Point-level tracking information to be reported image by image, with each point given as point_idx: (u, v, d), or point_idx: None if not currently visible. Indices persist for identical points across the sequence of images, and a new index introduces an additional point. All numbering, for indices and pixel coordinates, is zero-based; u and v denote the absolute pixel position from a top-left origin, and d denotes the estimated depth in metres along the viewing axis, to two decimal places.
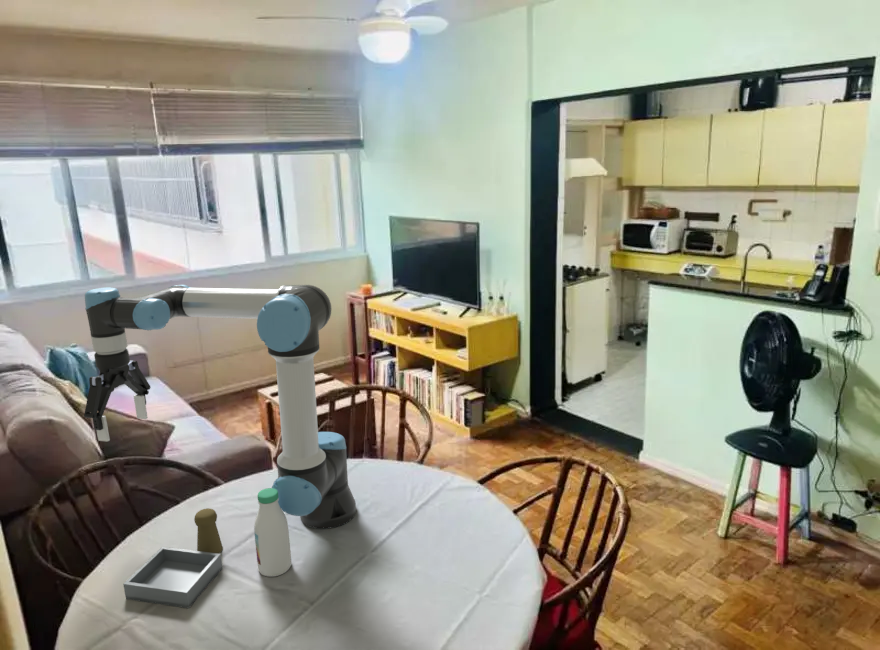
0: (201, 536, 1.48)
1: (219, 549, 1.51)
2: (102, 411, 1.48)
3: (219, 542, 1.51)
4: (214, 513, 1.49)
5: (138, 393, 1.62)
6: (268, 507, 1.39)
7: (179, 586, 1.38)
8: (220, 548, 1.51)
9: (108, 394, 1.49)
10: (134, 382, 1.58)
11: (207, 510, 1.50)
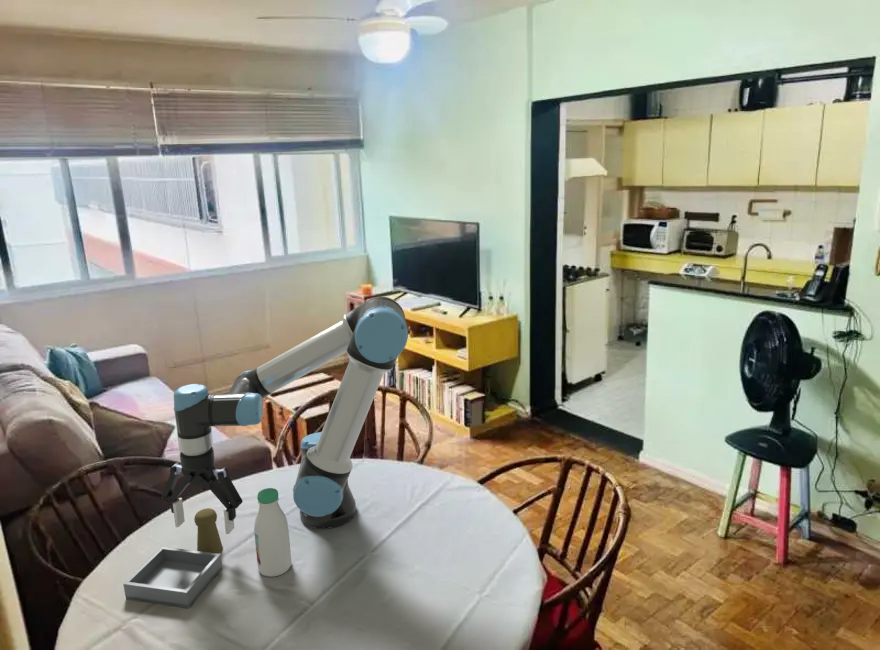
0: (201, 536, 1.48)
1: (219, 549, 1.51)
2: (172, 498, 1.48)
3: (219, 542, 1.51)
4: (214, 513, 1.49)
5: None
6: (268, 507, 1.39)
7: (179, 586, 1.38)
8: (220, 548, 1.51)
9: (181, 487, 1.47)
10: (215, 491, 1.45)
11: (207, 510, 1.50)
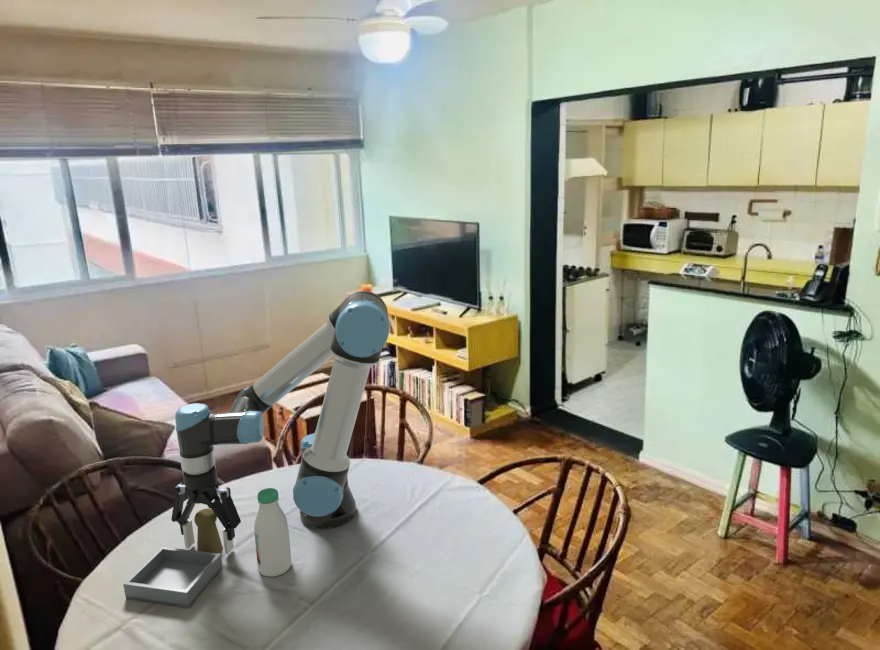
0: (201, 536, 1.48)
1: (219, 549, 1.51)
2: (182, 520, 1.50)
3: (219, 542, 1.51)
4: (214, 513, 1.49)
5: None
6: (268, 507, 1.39)
7: (179, 586, 1.38)
8: (220, 548, 1.51)
9: (187, 507, 1.48)
10: (216, 511, 1.47)
11: (207, 510, 1.50)
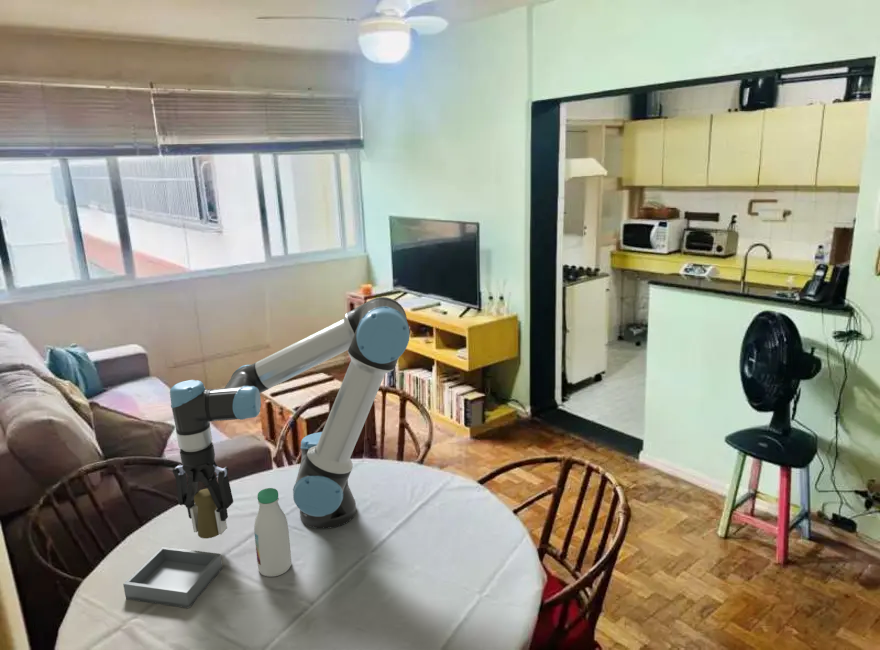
0: (201, 516, 1.47)
1: None
2: (188, 502, 1.48)
3: None
4: None
5: None
6: (268, 507, 1.39)
7: (179, 586, 1.38)
8: None
9: (190, 487, 1.47)
10: (211, 490, 1.46)
11: (206, 490, 1.48)
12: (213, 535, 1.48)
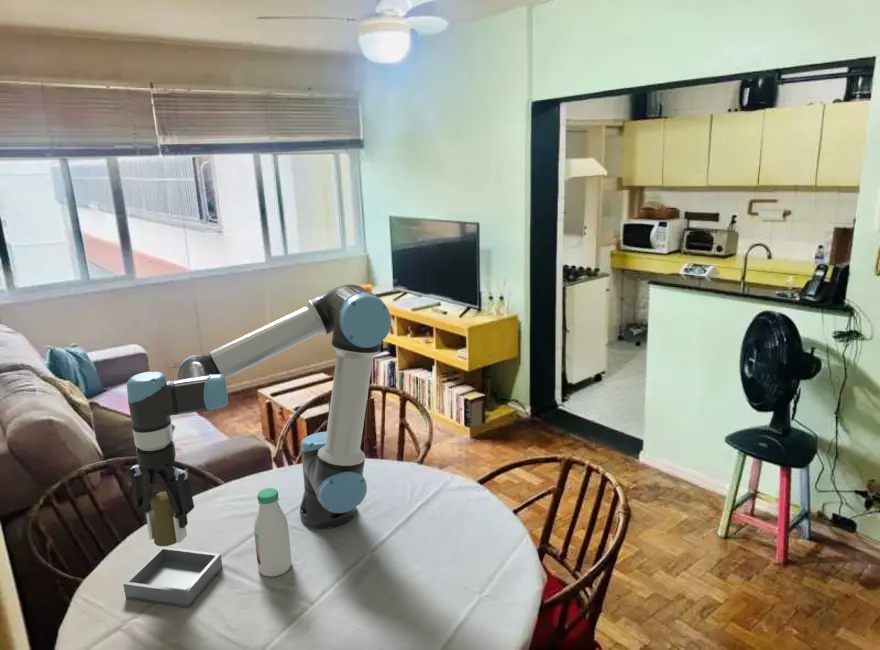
0: (158, 521, 1.34)
1: None
2: (144, 506, 1.34)
3: None
4: None
5: None
6: (268, 507, 1.39)
7: (179, 586, 1.38)
8: None
9: (146, 490, 1.33)
10: (170, 494, 1.32)
11: (165, 493, 1.35)
12: (170, 543, 1.35)
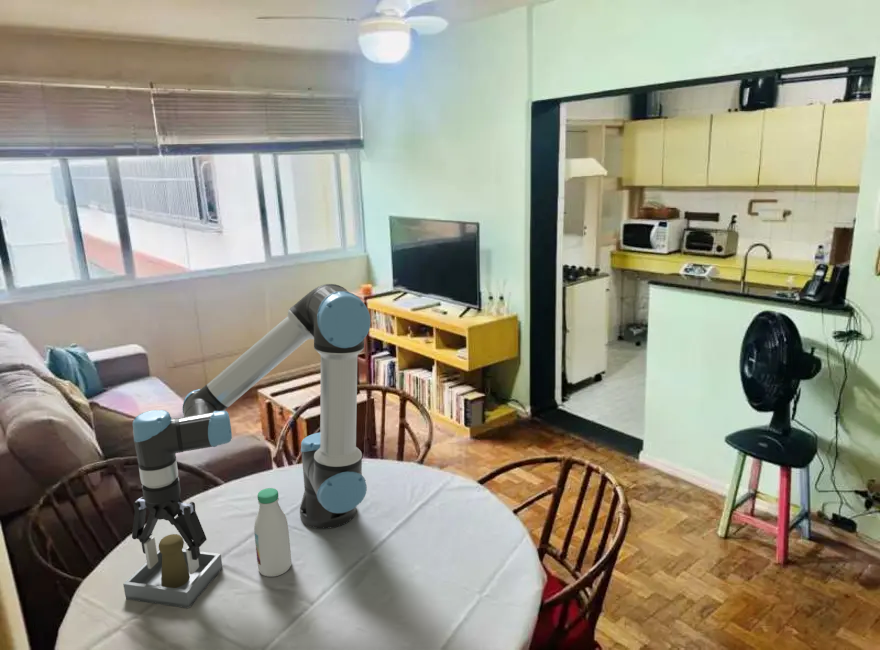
0: (165, 564, 1.37)
1: (185, 578, 1.39)
2: (143, 537, 1.37)
3: (185, 571, 1.39)
4: (180, 540, 1.38)
5: None
6: (268, 507, 1.39)
7: None
8: (186, 577, 1.39)
9: (148, 523, 1.36)
10: (179, 528, 1.34)
11: (173, 536, 1.38)
12: (177, 585, 1.38)
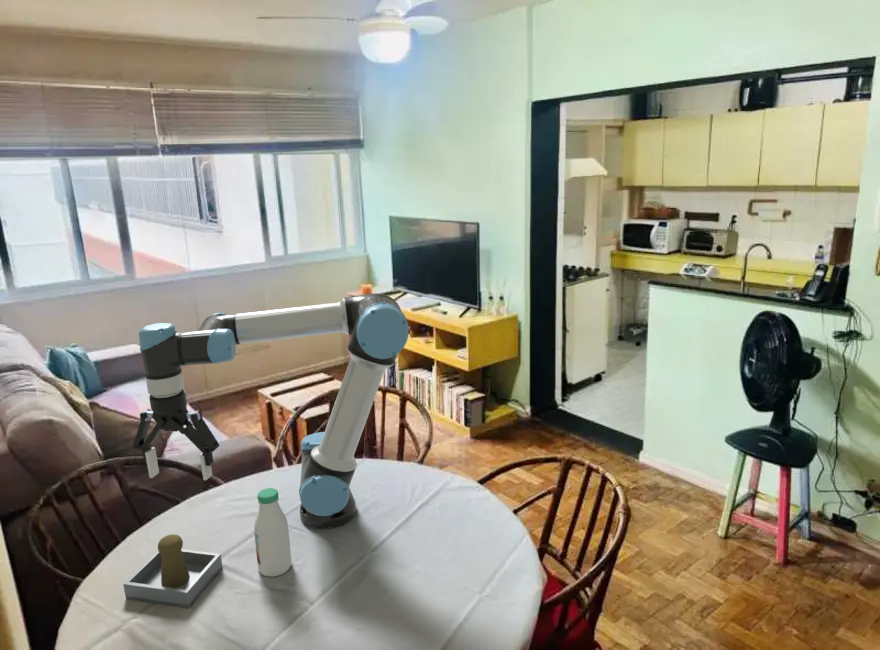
0: (165, 565, 1.37)
1: (185, 578, 1.39)
2: (145, 446, 1.41)
3: (185, 571, 1.39)
4: (179, 540, 1.38)
5: None
6: (268, 507, 1.39)
7: None
8: (186, 577, 1.39)
9: (153, 433, 1.39)
10: (189, 435, 1.38)
11: (172, 536, 1.38)
12: (177, 585, 1.38)
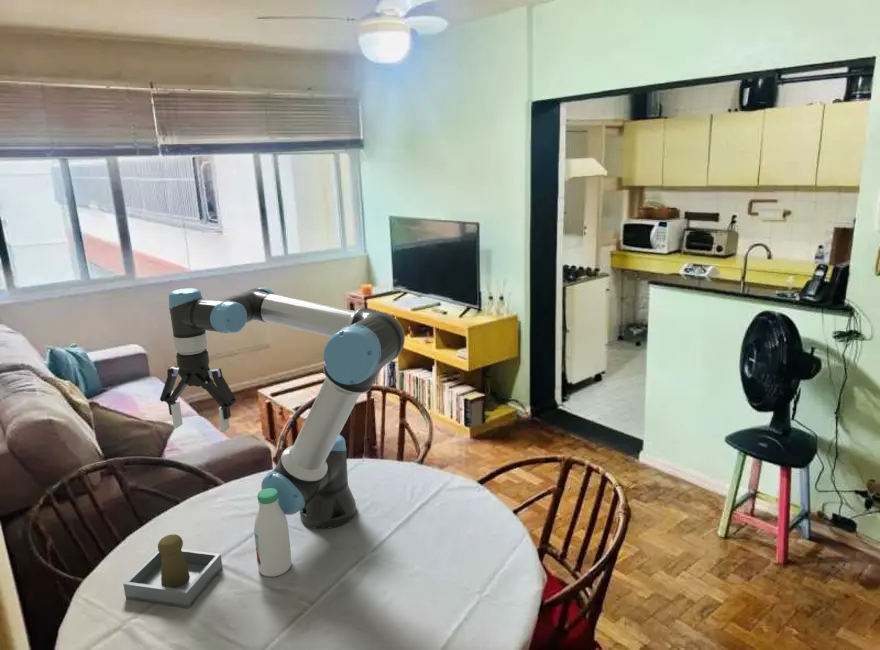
0: (165, 565, 1.37)
1: (185, 579, 1.39)
2: (170, 399, 1.57)
3: (185, 571, 1.39)
4: (179, 540, 1.38)
5: None
6: (268, 507, 1.39)
7: None
8: (186, 577, 1.39)
9: (178, 388, 1.55)
10: (210, 391, 1.54)
11: (172, 536, 1.38)
12: (177, 585, 1.38)
